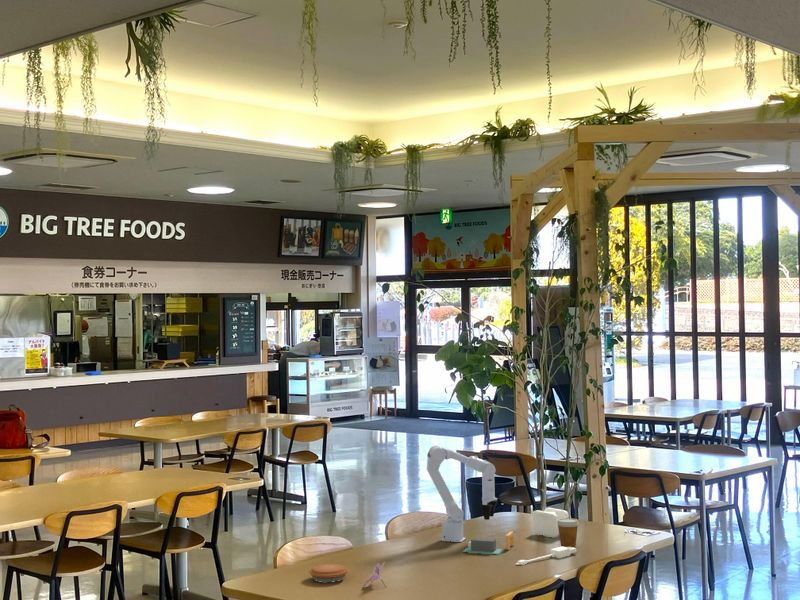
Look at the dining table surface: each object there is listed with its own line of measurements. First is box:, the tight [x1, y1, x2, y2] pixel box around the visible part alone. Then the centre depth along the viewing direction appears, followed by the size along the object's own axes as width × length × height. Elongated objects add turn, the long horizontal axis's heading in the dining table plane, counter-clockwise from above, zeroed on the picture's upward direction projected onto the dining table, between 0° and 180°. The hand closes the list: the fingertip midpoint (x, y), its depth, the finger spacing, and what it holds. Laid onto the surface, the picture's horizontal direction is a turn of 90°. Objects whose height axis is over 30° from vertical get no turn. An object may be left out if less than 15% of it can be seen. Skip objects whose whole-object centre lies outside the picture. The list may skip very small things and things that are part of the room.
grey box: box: [467, 537, 497, 552], centre depth 417 cm, size 12×5×5 cm, turn 70°
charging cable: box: [515, 545, 577, 566], centre depth 401 cm, size 5×32×3 cm, turn 125°
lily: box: [362, 561, 387, 588], centre depth 363 cm, size 12×12×10 cm
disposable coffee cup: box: [557, 518, 580, 548], centre depth 422 cm, size 10×10×12 cm
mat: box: [462, 546, 504, 556], centre depth 416 cm, size 16×8×1 cm, turn 70°
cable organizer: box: [531, 507, 570, 539], centre depth 447 cm, size 15×11×12 cm
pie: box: [308, 563, 349, 582], centre depth 375 cm, size 15×16×5 cm
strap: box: [505, 531, 515, 550], centre depth 423 cm, size 2×9×6 cm, turn 160°
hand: (488, 517), depth 442 cm, fingers open, 7 cm apart
